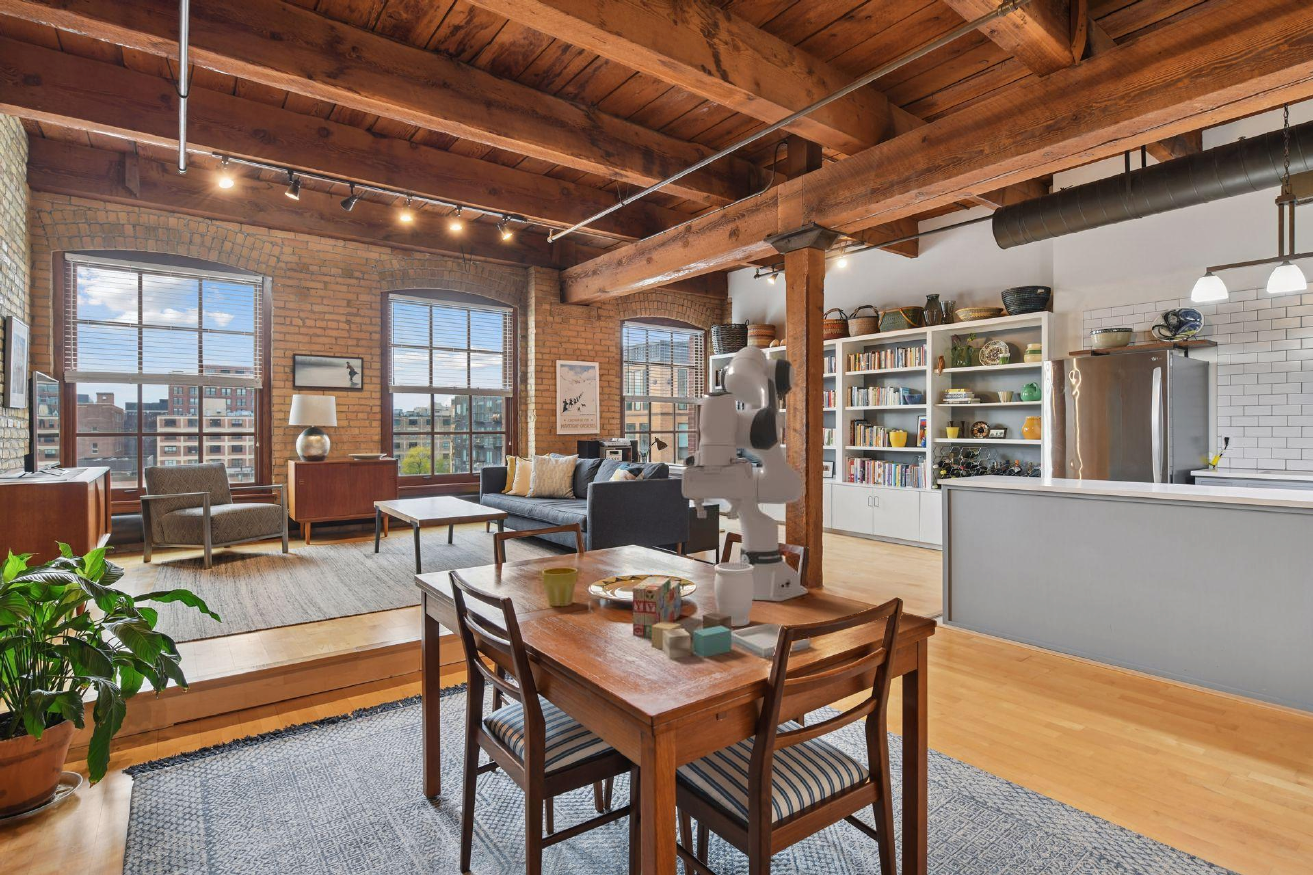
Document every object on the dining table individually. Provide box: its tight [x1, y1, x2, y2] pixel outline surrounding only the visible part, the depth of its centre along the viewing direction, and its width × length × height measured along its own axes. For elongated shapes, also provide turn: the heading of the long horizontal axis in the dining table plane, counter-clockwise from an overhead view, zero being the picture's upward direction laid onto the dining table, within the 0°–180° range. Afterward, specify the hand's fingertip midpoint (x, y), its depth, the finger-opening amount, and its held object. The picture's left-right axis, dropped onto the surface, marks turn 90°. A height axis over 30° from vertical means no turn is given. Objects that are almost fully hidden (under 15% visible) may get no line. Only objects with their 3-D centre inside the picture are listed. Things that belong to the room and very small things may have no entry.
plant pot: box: [541, 566, 579, 607], centre depth 197 cm, size 10×10×10 cm
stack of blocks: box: [632, 576, 682, 638], centre depth 177 cm, size 21×6×12 cm, turn 161°
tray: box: [731, 622, 811, 659], centre depth 161 cm, size 14×14×2 cm
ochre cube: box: [651, 621, 682, 650], centre depth 160 cm, size 5×5×5 cm
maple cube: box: [662, 628, 691, 660], centre depth 155 cm, size 5×5×5 cm
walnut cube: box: [702, 610, 732, 631], centre depth 168 cm, size 5×5×5 cm
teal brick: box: [692, 626, 732, 658], centre depth 156 cm, size 8×4×5 cm, turn 121°
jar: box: [713, 561, 754, 627], centre depth 178 cm, size 11×10×15 cm
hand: (716, 518), depth 156 cm, fingers open, 8 cm apart
